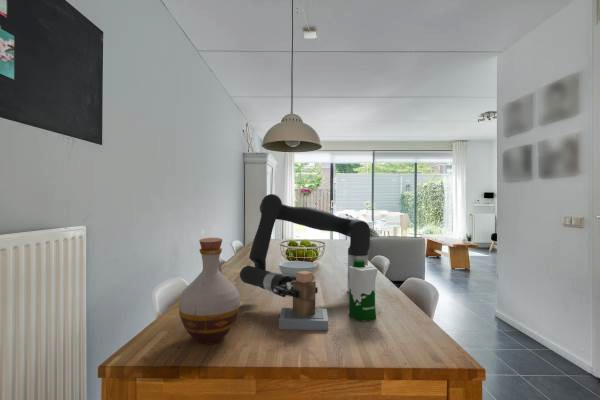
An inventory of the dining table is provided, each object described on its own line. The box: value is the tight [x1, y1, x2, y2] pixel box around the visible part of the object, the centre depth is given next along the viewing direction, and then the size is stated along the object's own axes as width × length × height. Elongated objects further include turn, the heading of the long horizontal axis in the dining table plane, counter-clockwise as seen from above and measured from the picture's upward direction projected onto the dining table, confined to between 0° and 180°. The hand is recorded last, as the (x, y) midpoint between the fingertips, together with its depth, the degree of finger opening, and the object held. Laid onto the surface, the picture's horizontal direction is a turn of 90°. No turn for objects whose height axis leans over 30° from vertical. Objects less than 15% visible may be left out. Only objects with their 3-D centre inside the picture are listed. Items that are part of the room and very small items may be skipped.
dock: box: [278, 307, 329, 331], centre depth 112 cm, size 16×12×3 cm
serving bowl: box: [278, 260, 318, 279], centre depth 183 cm, size 21×21×7 cm
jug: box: [178, 237, 241, 345], centre depth 99 cm, size 20×18×30 cm
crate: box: [292, 279, 317, 317], centre depth 113 cm, size 6×6×11 cm
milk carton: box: [347, 260, 378, 322], centre depth 119 cm, size 9×9×20 cm
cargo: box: [295, 271, 314, 283], centre depth 113 cm, size 4×4×3 cm
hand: (308, 292), depth 111 cm, fingers open, 8 cm apart
